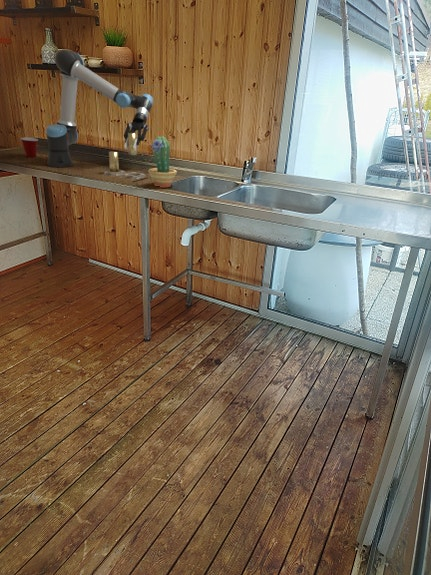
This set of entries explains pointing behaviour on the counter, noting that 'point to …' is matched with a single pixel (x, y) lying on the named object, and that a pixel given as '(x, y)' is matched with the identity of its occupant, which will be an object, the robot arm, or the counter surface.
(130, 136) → the brass billet
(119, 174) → the pallet
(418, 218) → the counter surface
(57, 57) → the robot arm
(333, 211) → the counter surface
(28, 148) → the plastic cup
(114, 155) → the cylinder
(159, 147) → the potted cactus
